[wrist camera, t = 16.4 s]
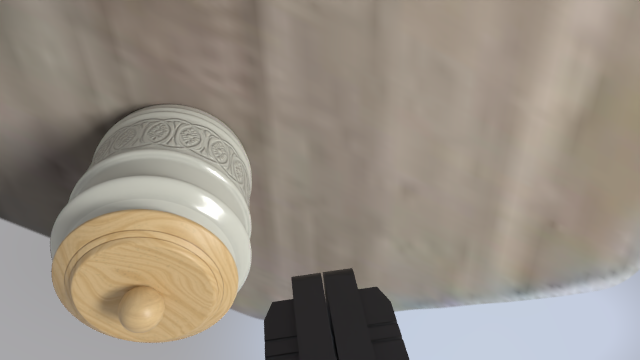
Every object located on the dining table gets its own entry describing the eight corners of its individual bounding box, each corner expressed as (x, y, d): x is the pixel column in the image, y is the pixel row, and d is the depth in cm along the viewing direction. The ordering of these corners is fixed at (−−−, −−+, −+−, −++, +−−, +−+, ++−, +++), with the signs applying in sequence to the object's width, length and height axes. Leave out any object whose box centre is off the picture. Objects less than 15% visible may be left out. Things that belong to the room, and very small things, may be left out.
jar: (65, 140, 40) (-47, 298, 25) (202, 73, 38) (171, 200, 23) (156, 246, 47) (112, 419, 32) (276, 193, 45) (288, 349, 30)
